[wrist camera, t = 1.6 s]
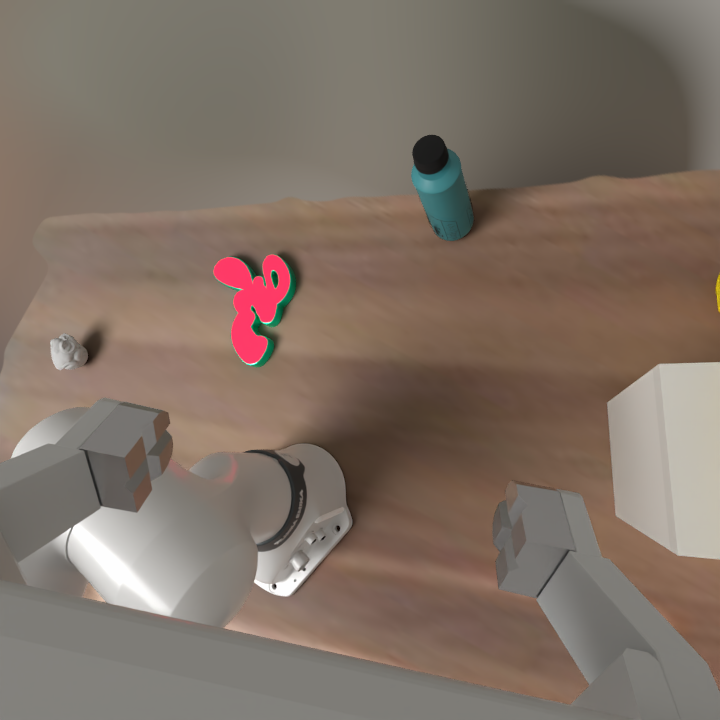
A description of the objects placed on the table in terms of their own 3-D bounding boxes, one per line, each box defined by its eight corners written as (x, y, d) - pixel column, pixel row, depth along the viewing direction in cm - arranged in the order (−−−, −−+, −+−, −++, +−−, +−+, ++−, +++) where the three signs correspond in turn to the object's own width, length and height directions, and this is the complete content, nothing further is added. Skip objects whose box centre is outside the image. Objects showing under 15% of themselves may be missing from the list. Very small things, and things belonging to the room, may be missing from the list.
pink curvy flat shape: (222, 262, 87) (214, 257, 85) (300, 255, 81) (293, 249, 79) (209, 368, 83) (200, 365, 81) (290, 367, 77) (283, 364, 75)
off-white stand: (755, 525, 52) (944, 579, 29) (615, 515, 57) (678, 555, 33) (738, 401, 55) (898, 356, 31) (607, 402, 60) (658, 363, 36)
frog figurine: (101, 344, 92) (69, 335, 86) (88, 377, 92) (55, 371, 85) (81, 337, 95) (48, 328, 88) (68, 369, 94) (34, 363, 88)
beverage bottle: (484, 217, 71) (468, 131, 52) (460, 254, 71) (436, 181, 52) (447, 201, 73) (420, 114, 55) (425, 237, 73) (390, 162, 55)
